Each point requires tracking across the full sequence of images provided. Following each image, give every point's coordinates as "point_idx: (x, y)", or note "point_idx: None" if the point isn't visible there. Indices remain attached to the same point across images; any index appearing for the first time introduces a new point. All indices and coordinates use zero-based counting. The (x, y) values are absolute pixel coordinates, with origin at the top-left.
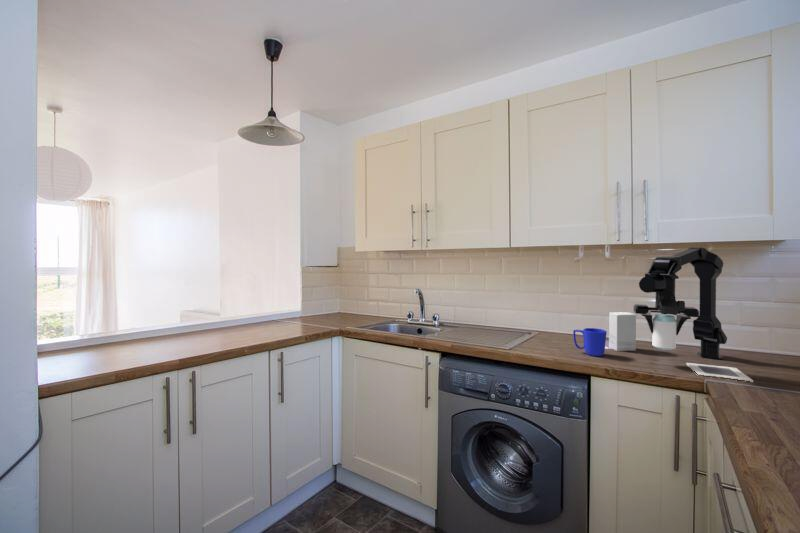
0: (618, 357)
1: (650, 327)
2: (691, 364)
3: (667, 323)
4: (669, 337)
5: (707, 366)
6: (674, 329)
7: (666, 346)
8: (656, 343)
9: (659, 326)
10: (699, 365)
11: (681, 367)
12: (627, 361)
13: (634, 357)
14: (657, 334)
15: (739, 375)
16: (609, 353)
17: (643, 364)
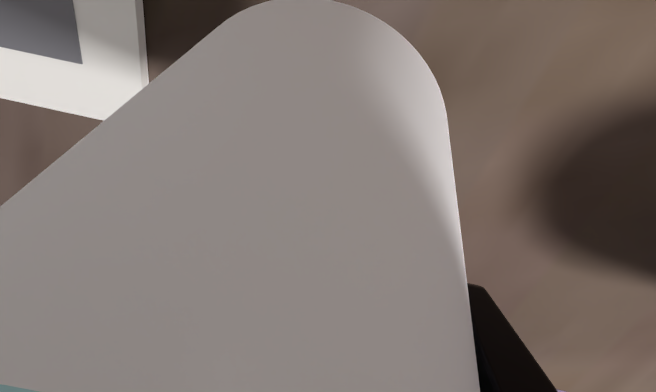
0: (638, 215)
1: (543, 385)
2: (118, 83)
3: (93, 320)
4: (231, 55)
5: (13, 46)
6: (19, 191)
7: (320, 6)
8: (435, 99)
9: (409, 300)
10: (65, 66)
11: (209, 16)
12: (638, 106)
13: (485, 233)
14: (434, 174)
15: None
16: (638, 304)
17: (529, 33)
